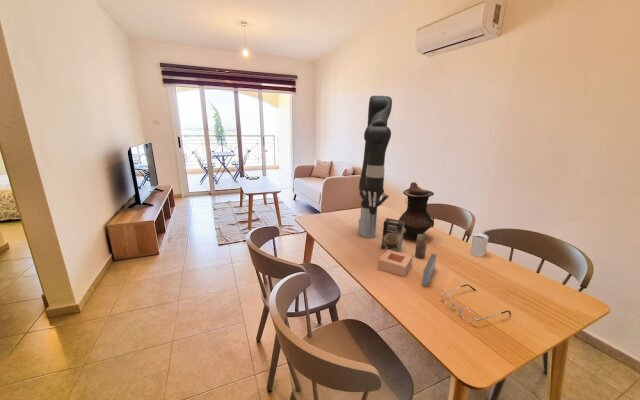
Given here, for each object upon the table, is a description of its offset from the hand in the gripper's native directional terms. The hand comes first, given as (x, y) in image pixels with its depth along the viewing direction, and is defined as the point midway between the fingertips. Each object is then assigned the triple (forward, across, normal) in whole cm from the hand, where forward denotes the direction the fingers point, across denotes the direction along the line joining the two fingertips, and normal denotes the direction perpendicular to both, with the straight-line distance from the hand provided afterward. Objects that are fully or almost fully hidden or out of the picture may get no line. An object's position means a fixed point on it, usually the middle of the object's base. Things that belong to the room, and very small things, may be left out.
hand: (372, 214), depth 115 cm
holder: (+22, -12, 0) cm, 25 cm away
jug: (+24, -10, -42) cm, 49 cm away
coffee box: (+24, -5, -17) cm, 30 cm away
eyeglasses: (+24, -43, +9) cm, 50 cm away
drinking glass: (+24, -42, -37) cm, 61 cm away
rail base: (+24, -17, 0) cm, 29 cm away
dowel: (+24, -19, -16) cm, 34 cm away
